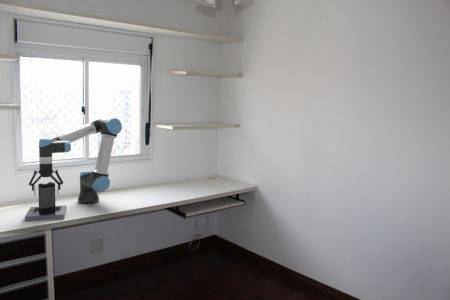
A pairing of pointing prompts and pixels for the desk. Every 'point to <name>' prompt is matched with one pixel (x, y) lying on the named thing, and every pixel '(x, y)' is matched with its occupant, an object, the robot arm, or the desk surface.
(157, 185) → the desk surface
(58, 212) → the chassis
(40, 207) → the electronic device
